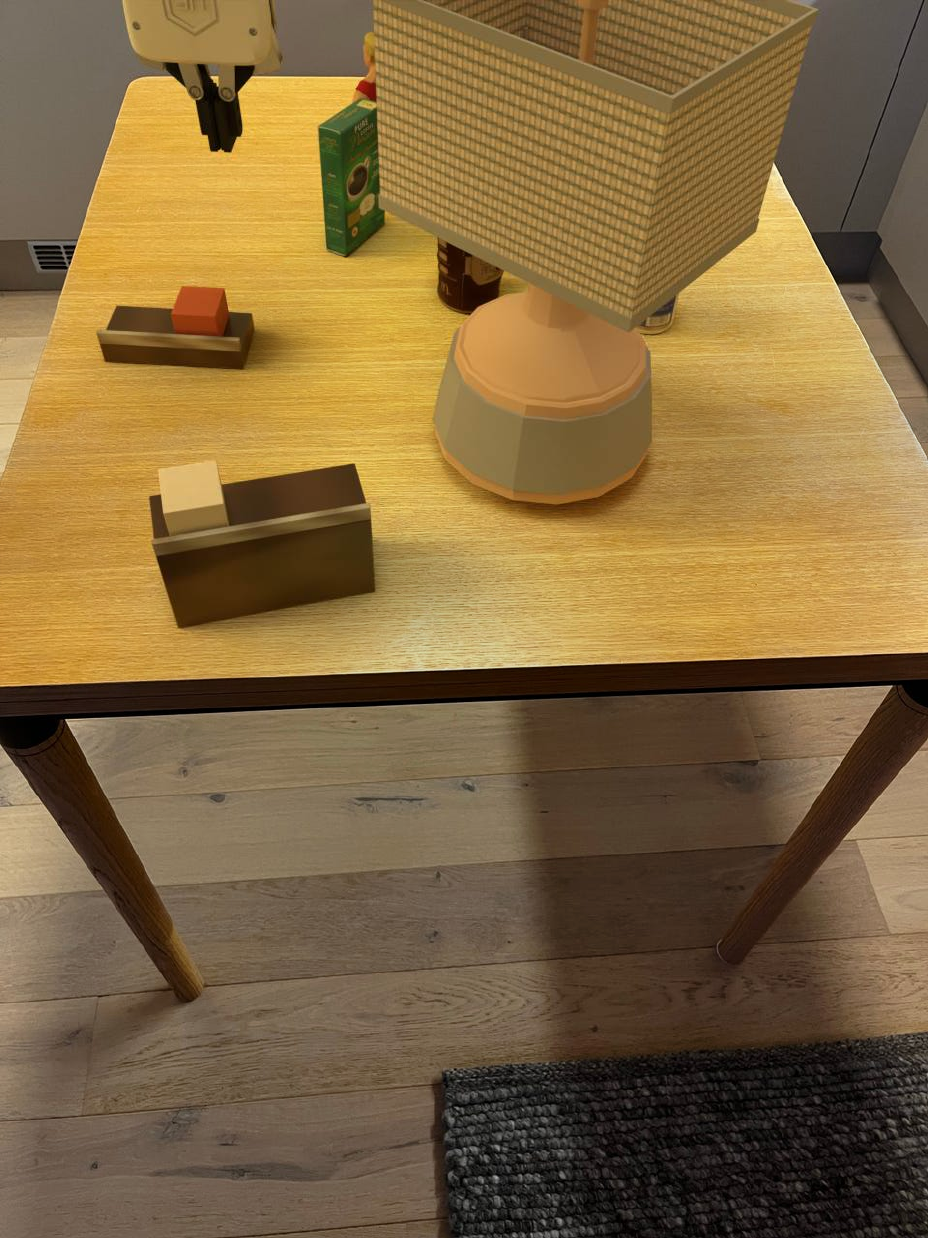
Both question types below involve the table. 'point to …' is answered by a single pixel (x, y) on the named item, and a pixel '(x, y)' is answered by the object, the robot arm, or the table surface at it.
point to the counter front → (270, 547)
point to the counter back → (173, 340)
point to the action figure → (368, 84)
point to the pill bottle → (659, 318)
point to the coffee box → (350, 176)
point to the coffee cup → (465, 279)
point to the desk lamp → (575, 201)
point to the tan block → (192, 498)
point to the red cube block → (200, 311)
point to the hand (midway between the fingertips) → (224, 143)
